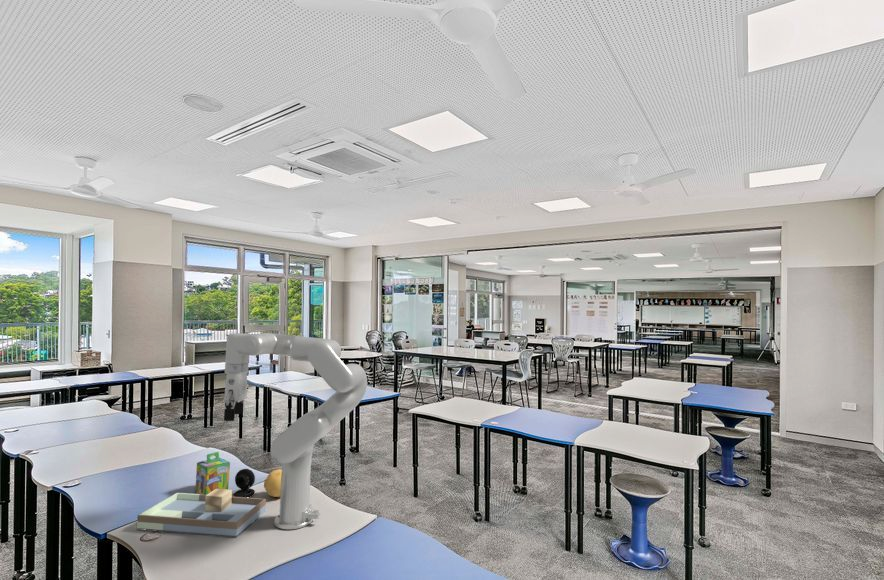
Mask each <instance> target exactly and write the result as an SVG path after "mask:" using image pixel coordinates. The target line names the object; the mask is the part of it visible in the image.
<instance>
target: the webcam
mask: <svg viewBox="0 0 884 580" xmlns="http://www.w3.org/2000/svg"><path fill="white" fill-rule="evenodd" d="M255 475H256V474H255V473H254V472H253V470H251V469H250V468H242V469H239V471H238V472H236V474H235V476H234V481H235V485H236V487H237V488H238V490H236V491H235V492H234V493H233V497H246V498H247V497H249V498H251V497H253V496H254V495H255V493H256V491H255V490H254V489H253V488H252V487H253V485H254V483H255V482H256V476H255ZM249 492H251V493H249ZM252 495H253V496H252ZM250 496H251V497H250Z"/></svg>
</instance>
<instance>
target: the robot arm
mask: <svg viewBox="0 0 884 580" xmlns="http://www.w3.org/2000/svg"><path fill="white" fill-rule="evenodd" d="M267 354H268V355H270V354H271V355H283V356H288V357H290V358H291V359H292V360H293V361H296V362H297V361H298V362H309V363H310V365H311V366H312V367H313V368H314V370H315V371H316V373H318V374H319V376H320V377H321V378H322V379H323V380H324V381H325V383H326V384H327V385H328V387H330V389H331V390H333V391H334V392H335V393H333V394H332V395H331V396H330V397H329V398H328V399H326V400H325V401H323V403H322V404H320V405H319V406H318V407H315V408H314V409H311V410H309V411H308V412H306V413H305V414H303V415H302V416H301V417H299V418H297V419H296V420H295V421H294V422H293V423H292V424H290V425H289V426H288V427H287V428H286V429H285V430H283V432H281V433H280V434H278V436H276V438H274V440H273V441H272V443H271V445H270V454H271V459H272V460H273V461H274V462H276V463H278V464H281V469H282V475H281V495H280V497H279V498H280V500H279V514H278V515H276V517H275V518H274V522H273V523H274V526H275V527H276V528H278V529H282V530H297V529H301V528H304V527H307V526H308V525H310V524H311V523H312V522H313V520H319V519H320V517H321V513H320V510H319V509H313V505H312V504H310V494H311V493H310V492H311V491H310V490H311V471H312V470H311V469H312V457H313V451H314V446H315V444H316V443H317V442H318V441H320V440H321V439H323V438H324V437H325V436H326V435H327V434H328V433H330V431H331V430H332V429H333V428H335V426H337V424H339V422H341V421H342V420H343V419H344V418H346V417H347V416H348V414H351V412H352V411H353V410H354V409H355V408H356V407H357V406H358V405H359V404H360V403H361V401H362V400H363V398H364V396H365V393H366V391H367V386H368V377H367V374H366V370H365V368H363V366H361V365H360V364H357V363H347V364H345V363H344V362H343V361H342V360H341V358H340V357H341V355H342V347H341V345H340V344H339V342H338V341H336V340H334V339H330V338H323V337H321V338H320V337H312V336H311V337H310V336H302V335H291V334H282V333H274V332H271V333H270V332H263V333H252V334H248V333H241V332H240V333H239V332H237V333H236V332H233V333H229V334H228V335H227V337H226V345H225V360H224V374H226V379H225V386H224V387H225V388H224V414H223V415H224V416H223V421H224V422H234V421H235V418H236V417H235V415H243V413H244V407H245V406H244V405H245V403H244V402H245V399H246V398H247V396H248V389H247V388H248V376H247V375H248V374H247V373H249V363H250V356H255V357H256V356H261V355H267Z"/></svg>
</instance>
